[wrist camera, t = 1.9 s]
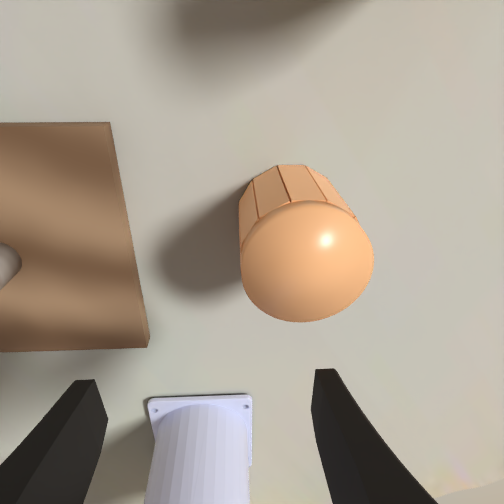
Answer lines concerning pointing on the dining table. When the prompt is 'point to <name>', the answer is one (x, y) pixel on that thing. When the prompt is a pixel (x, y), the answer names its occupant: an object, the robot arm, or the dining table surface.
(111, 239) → the post block
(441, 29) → the dining table surface
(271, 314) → the wire nut cap
